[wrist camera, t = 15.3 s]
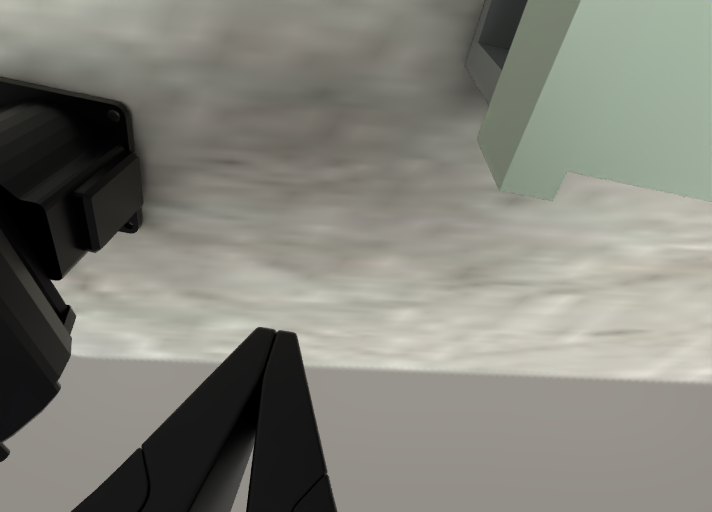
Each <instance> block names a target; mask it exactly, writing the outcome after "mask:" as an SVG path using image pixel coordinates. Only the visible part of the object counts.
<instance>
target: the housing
mask: <svg viewBox="0 0 712 512" xmlns="http://www.w3.org/2000/svg"><path fill="white" fill-rule="evenodd" d="M527 1H528V0H485V3H484V6H483V9H482V13H481V16H480V19H479V22H478V25H477V28H476V31H475V35H474V38H473V41H472V44H471V47H470V50H469V53H468V57H467V60H466V63H465V67H466V68H467V70H468V72H469V73H470V75H471V77H472V78H473V80H474V82H475V83H476V85H477V87H478V88H479V90H480V92H481V93H482V95H483V97H484V98H485V100H486V102H487V103H488V105H489V104H490V102H491V99H492V96H493V93H494V91H495V88H496V85H497V83H498V80H499V77H500V74H501V72H502V69H503V66H504V64H505V61H506V58H507V55H508V53H509V50H510V47H511V45H512V42H513V39H514V36H515V34H516V31H517V28H518V25H519V23H520V20H521V17H522V15H523V12H524V9H525V6H526V4H527Z"/></svg>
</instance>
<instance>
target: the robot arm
mask: <svg viewBox="0 0 712 512" xmlns="http://www.w3.org/2000/svg"><path fill="white" fill-rule="evenodd" d="M113 110H114V111H116V112H117V113H118V114H119V116H120V119H118V118H116V117H115V116H114V115H113V112H112V111H113ZM142 205H143V195H142V185H141V176H140V166H139V158H138V156H137V155H136V153H135V152H134V145H133V135H132V126H131V117H130V113H129V110H128V109H127V107H126V106H125V105H123V104H122V103H120V102H117V101H113V100H108V99H103V98H98V97H93V96H89V95H84V94H79V93H74V92H69V91H64V90H60V89H55V88H50V87H45V86H40V85H35V84H31V83H26V82H21V81H16V80H11V79H6V78H2V77H0V462H2V461H3V460H5V459H6V458H7V457H8V455H9V453H10V451H9V449H8V448H7V447H6V446H5V445H4V444H3V442H4V441H6V440H7V439H9V438H10V437H12V436H13V435H15V434H16V433H17V432H18V431H19V430H21V429H22V428H23V427H24V426H25V425H27V424H28V423H29V422H30V421H31V420H33V419H34V418H35V417H36V416H37V415H39V414H40V413H41V412H42V411H43V410H44V409H45V408H46V407H47V405H48V404H49V403H50V402H51V401H52V400H53V399H54V398H55V396H56V395H57V394H58V392H59V390H60V389H61V385H60V384H59V382H58V379H59V378H60V376H61V374H62V372H63V370H64V368H65V366H66V364H67V362H68V360H69V358H70V356H71V343H72V338H71V336H70V334H71V331H72V328H73V325H74V322H75V319H76V315H75V313H74V311H73V310H72V308H71V307H70V305H66V304H65V302H64V301H63V299H62V298H61V296H60V294H59V293H58V291H57V290H56V288H55V286H54V285H53V283H52V282H51V280H61V279H62V278H63V277H64V276H65V275H66V274H67V273H68V272H69V271H70V270H71V269H72V268H73V267H74V266H75V265H76V264H77V263H78V261H79V260H80V259H81V258H82V257H83V256H84V255H85V254H86V253H87V252H94V253H96V252H98V251H99V250H101V249H102V248H103V247H104V246H105V245H106V244H107V243H108V241H109V240H110V239H111V238H112V237H113V236H114V235H115V234H116V233H117V232H118V231H120V232H125V233H135V232H137V231H138V229H139V228H140V227H141V226H142V218H141V208H140V207H141V206H142ZM127 221H130V222H131V223H132V224H133V225H131V224H129V223H128V222H127ZM253 446H254V450H253V459H252V467H251V476H250V484H249V492H248V500H247V509H246V512H337V508H336V504H335V501H334V497H333V493H332V488H331V484H330V480H329V476H328V475H327V468H326V463H325V458H324V454H323V449H322V445H321V440H320V436H319V432H318V427H317V423H316V418H315V414H314V409H313V405H312V400H311V396H310V392H309V387H308V382H307V378H306V374H305V369H304V365H303V360H302V356H301V351H300V347H299V342H298V338H297V335H296V333H294V332H289V331H282V330H279V331H278V332H276V330H275V329H270V328H263V327H258V328H256V329H255V330H254V331H253V332H252V333H251V334H250V335H249V336H248V337H247V338H246V339H245V340H244V341H243V342H242V343H241V344H240V345H239V346H238V347H237V348H236V349H235V350H234V351H233V352H232V353H231V354H230V356H229V357H228V358H227V359H226V360H225V361H224V362H223V363H222V364H221V365H220V366H219V367H218V368H217V369H216V370H215V371H214V372H213V373H212V374H211V375H210V376H209V377H208V378H207V379H206V380H205V381H204V382H203V383H202V384H201V385H200V386H199V387H198V388H197V389H196V390H195V391H194V392H193V393H192V394H191V395H190V396H189V397H188V398H187V399H186V400H185V401H184V402H183V403H182V404H181V405H180V406H179V407H178V408H177V409H176V411H174V413H172V414H171V416H170V417H169V418H168V419H167V420H166V421H165V422H164V423H163V424H162V425H161V426H160V427H159V428H158V429H157V430H156V431H155V432H154V433H153V434H152V435H151V436H150V437H149V438H148V439H147V440H146V441H145V442H144V443H143V444H142V449H141V448H138V449H137V450H136V451H135V452H134V453H133V454H132V455H131V456H130V457H129V458H128V459H127V460H126V461H125V462H124V463H123V464H122V465H121V466H120V467H119V468H118V469H117V470H116V471H115V472H114V473H113V474H112V475H111V476H110V477H109V478H108V479H107V480H106V481H104V482H103V483H102V484H101V485H100V486H99V487H98V488H97V489H96V490H95V491H94V492H93V493H92V494H90V495H89V496H88V497H87V498H86V499H85V500H84V501H83V502H81V503H80V504H79V505H78V506H77V507H76V508H74V509H73V510H72V511H71V512H230V511H231V508H232V505H233V503H234V500H235V497H236V494H237V491H238V489H239V486H240V483H241V480H242V477H243V474H244V471H245V468H246V466H247V463H248V460H249V457H250V454H251V452H252V449H253Z"/></svg>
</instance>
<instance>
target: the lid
mask: <svg viewBox="0 0 712 512" xmlns="http://www.w3.org/2000/svg"><path fill="white" fill-rule="evenodd" d="M477 141H478V143H479V146H480V148H481V150H482V152H483V155H484V157H485V159H486V162H487V164H488V166H489V168H490V171H491V173H492V175H493V177H494V180H495V182H496V184H497V187H498V189H499V191H504V192H509V193H514V194H519V195H524V196H528V197H533V198H538V199H543V200H548V201H553V199H554V197H555V195H556V193H557V191H558V190H559V188H560V186H561V184H562V182H563V180H564V178H565V176H566V174H567V172H572V173H577V174H581V175H586V176H591V177H596V178H600V179H605V180H610V181H615V182H619V183H624V184H629V185H634V186H638V187H643V188H648V189H653V190H657V191H662V192H667V193H672V194H676V195H681V196H686V197H691V198H695V199H700V200H705V201H710V202H712V0H528V1H527V4H526V6H525V9H524V12H523V15H522V17H521V20H520V23H519V25H518V28H517V31H516V34H515V36H514V39H513V42H512V45H511V47H510V50H509V53H508V55H507V58H506V61H505V64H504V66H503V69H502V72H501V74H500V77H499V80H498V83H497V85H496V88H495V91H494V93H493V96H492V99H491V102H490V104H489V107H488V110H487V113H486V115H485V118H484V121H483V123H482V126H481V129H480V132H479V134H478V137H477Z"/></svg>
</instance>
